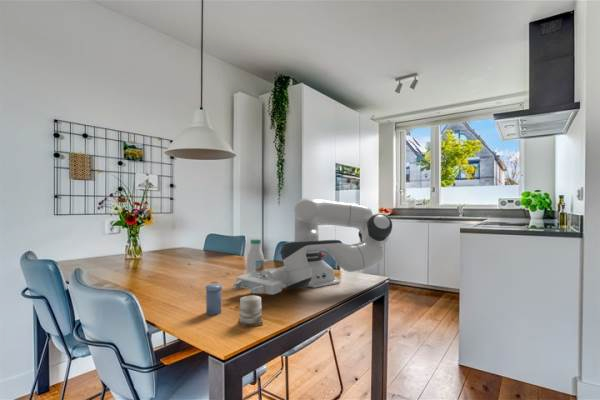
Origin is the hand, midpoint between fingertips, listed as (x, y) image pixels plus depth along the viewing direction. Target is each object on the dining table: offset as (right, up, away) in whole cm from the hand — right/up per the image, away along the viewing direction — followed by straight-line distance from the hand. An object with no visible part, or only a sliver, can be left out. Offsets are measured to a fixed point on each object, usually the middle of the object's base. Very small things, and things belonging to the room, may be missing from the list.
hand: (242, 288), depth 111 cm
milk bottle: (0, -6, +29) cm, 30 cm away
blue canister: (-8, -6, -9) cm, 13 cm away
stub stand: (+6, -5, -18) cm, 19 cm away
